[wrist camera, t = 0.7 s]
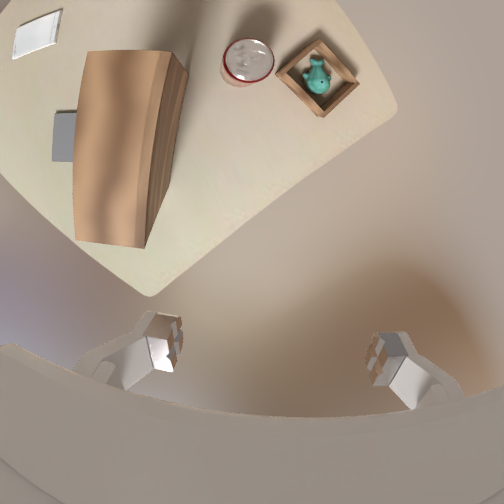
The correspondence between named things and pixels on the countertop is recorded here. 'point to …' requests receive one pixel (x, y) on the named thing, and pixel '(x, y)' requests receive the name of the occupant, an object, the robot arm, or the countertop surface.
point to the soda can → (246, 62)
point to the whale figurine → (316, 78)
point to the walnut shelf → (124, 143)
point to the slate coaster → (63, 137)
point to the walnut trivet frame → (335, 64)
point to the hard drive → (36, 34)
